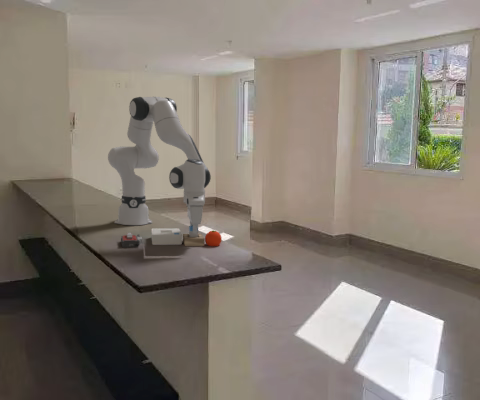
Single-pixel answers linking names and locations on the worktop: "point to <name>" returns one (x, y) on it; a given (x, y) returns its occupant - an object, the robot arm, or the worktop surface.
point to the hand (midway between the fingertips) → (193, 231)
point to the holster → (193, 240)
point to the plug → (192, 232)
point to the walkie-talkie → (131, 240)
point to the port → (166, 236)
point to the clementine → (213, 238)
